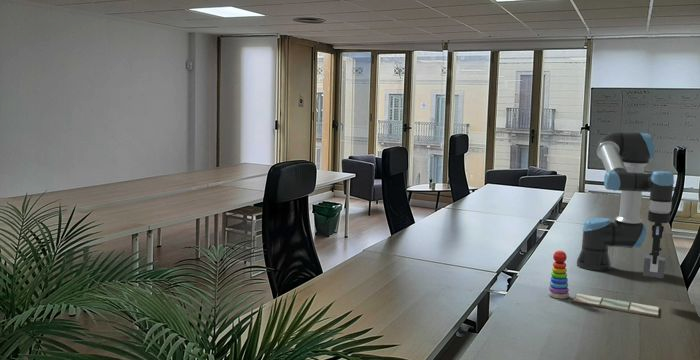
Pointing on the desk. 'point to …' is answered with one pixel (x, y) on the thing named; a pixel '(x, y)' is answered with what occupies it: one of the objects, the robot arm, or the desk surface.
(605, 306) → the board
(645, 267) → the grey plain cubic block
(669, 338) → the desk surface
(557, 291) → the stacking toy
